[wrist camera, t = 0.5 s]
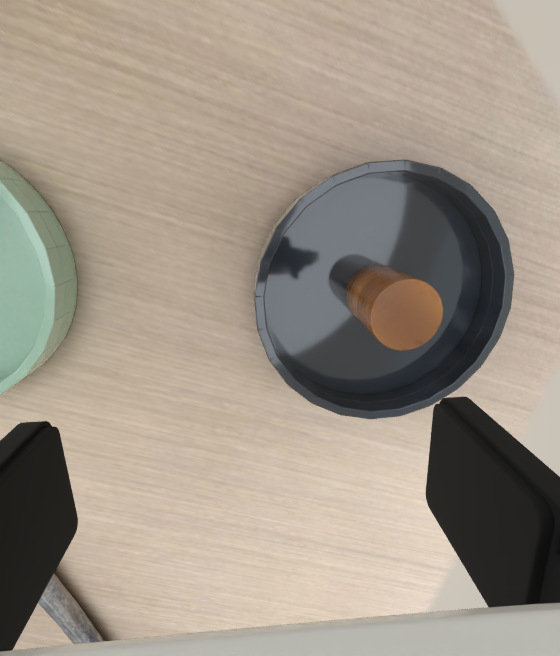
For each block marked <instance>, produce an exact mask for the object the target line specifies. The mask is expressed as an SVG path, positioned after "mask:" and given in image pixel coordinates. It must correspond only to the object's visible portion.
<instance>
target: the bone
mask: <svg viewBox="0 0 560 656" xmlns="http://www.w3.org/2000/svg"><path fill="white" fill-rule="evenodd" d="M38 603H39V604H40V605H41V606H42V608H43V609H44V610H45V611H46V612H47V613H48V614H49V615H50V616H51V617H52V618H53V619H54V620H55V622H56V623H57V624H58V625H59V626H60V628H61V629H62V630H63V631H64V633H65V634H66V635H67V636H68V638H69V639H70V640H71V641H72V643H73V644H84V643H94V642H104V640H103V638H102V637H101V635H100V634H99V633H98V631H97V630H96V628H95V627H94V625H93V624H92V623H91V621H90V620H89V618H88V617H87V616H86V614H85V613H84V611H83V610H82V608H81V607H80V606H79V604H78V603H77V602H76V600H75V599H74V598H73V597H72V595H71V594H70V593H69V592H68V590H67V589H66V588H65V587H64V586H63V584H62V583H61V582H60V580H59V579H58V578H57V576H56V575H55V573H54V574H53V576H52V578H51V580H50V581H49V583H48V585H47V587H46V589H45V591H44V592H43V594H42V596H41V598H40V600H39V602H38Z"/></svg>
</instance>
